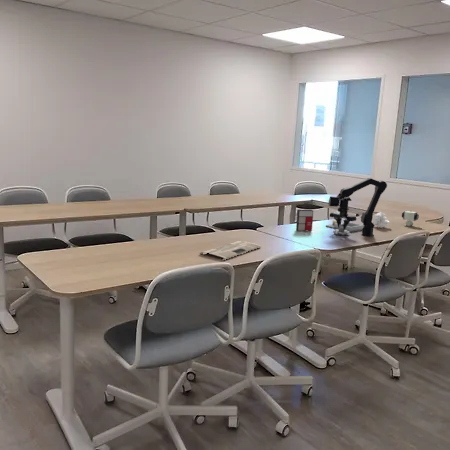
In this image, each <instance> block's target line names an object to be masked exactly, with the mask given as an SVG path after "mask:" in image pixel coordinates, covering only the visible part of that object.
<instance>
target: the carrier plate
mask: <svg viewBox="0 0 450 450" xmlns="http://www.w3.org/2000/svg"><path fill="white" fill-rule="evenodd" d="M341 223H343V224H344V221H343V222H342V221H341ZM363 226H364V225H363V224H360V223H354V222H352V221H350V222H349V223H348V225H347V227H346V228H345V230H347V231H349V233H355V232H359V231H362V229H363ZM325 227H326V228H330V229H334V230H335V229H336V230H339V228H338V225H337V221H336V220H335V219H334V220H332V224H326V225H325ZM354 231H355V232H354Z"/></svg>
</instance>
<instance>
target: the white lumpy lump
mask: <svg viewBox="0 0 450 450" xmlns="http://www.w3.org/2000/svg"><path fill="white" fill-rule="evenodd" d="M372 223H373V224H374V225H375V226H377V228H380V229H382V227H383V229H386V227H387V225H388V224H389V225H390V221H389V220H388V217H386V214H385V213H384V212H381V211H379V212H377V213H376V214H373V218H372Z"/></svg>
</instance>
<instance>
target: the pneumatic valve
mask: <svg viewBox="0 0 450 450" xmlns="http://www.w3.org/2000/svg"><path fill="white" fill-rule="evenodd" d="M419 217H420V216H419V214H418V212H417V211H412V210H409V211H408V210H405V211H403V212H402V213H401V218H402V220H406V221H405V226H407V227H412V226H414V222H415V221H417V220H419Z"/></svg>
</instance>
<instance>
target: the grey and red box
mask: <svg viewBox="0 0 450 450" xmlns="http://www.w3.org/2000/svg"><path fill="white" fill-rule="evenodd" d="M313 221H314V210H313V209H297V211H296V228H295V230H296V231H297V232H312V231H313Z"/></svg>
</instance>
